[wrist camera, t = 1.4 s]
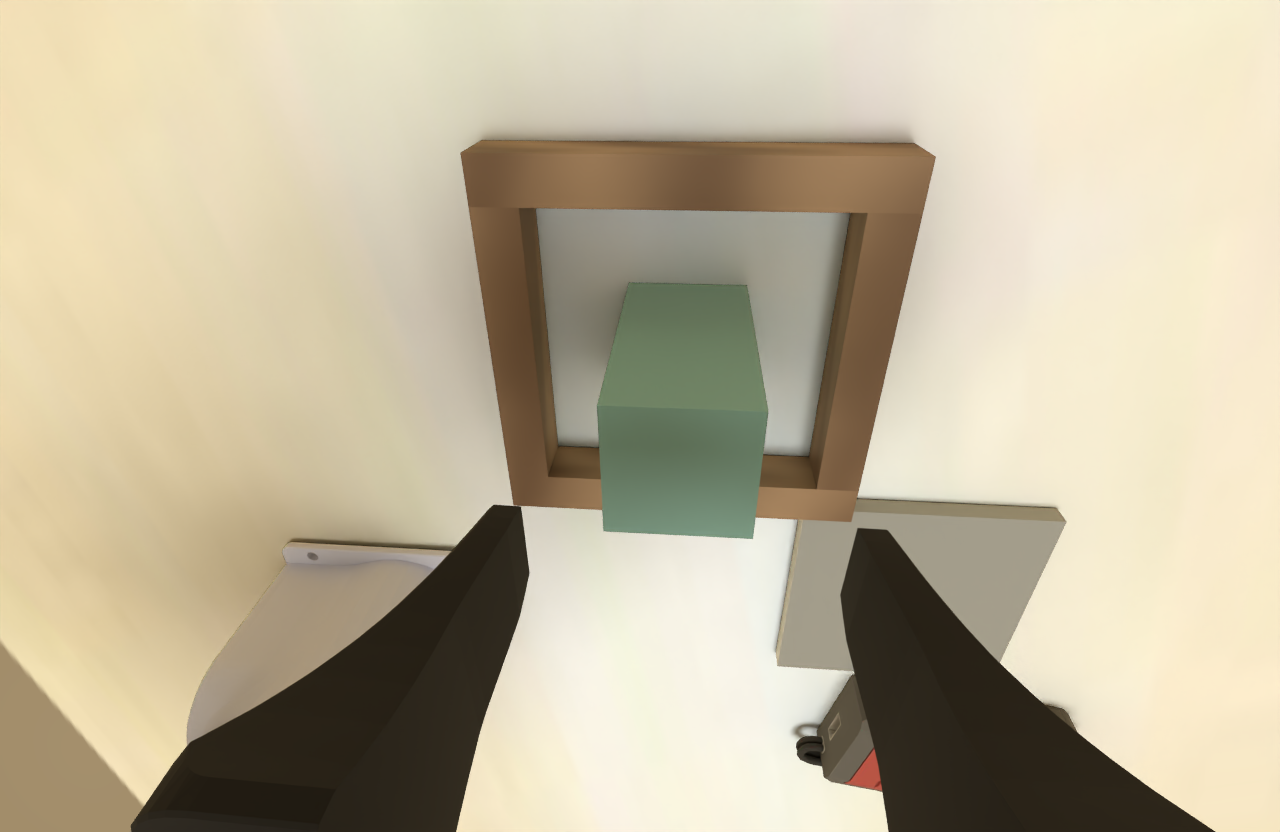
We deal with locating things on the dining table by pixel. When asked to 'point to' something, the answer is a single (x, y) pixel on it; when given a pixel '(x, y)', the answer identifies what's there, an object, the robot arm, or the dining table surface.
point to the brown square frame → (707, 181)
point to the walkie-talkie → (852, 742)
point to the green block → (682, 413)
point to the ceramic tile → (944, 554)
